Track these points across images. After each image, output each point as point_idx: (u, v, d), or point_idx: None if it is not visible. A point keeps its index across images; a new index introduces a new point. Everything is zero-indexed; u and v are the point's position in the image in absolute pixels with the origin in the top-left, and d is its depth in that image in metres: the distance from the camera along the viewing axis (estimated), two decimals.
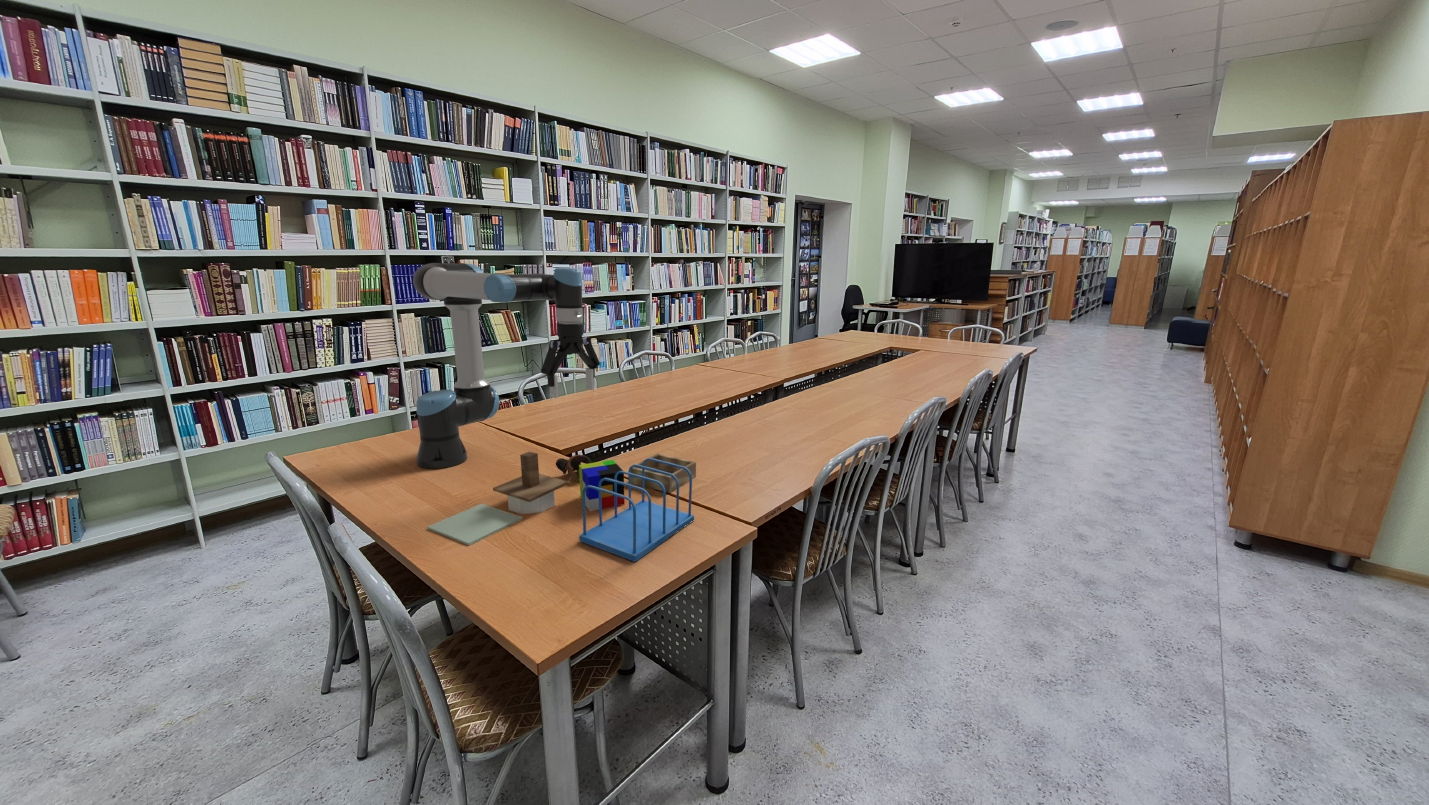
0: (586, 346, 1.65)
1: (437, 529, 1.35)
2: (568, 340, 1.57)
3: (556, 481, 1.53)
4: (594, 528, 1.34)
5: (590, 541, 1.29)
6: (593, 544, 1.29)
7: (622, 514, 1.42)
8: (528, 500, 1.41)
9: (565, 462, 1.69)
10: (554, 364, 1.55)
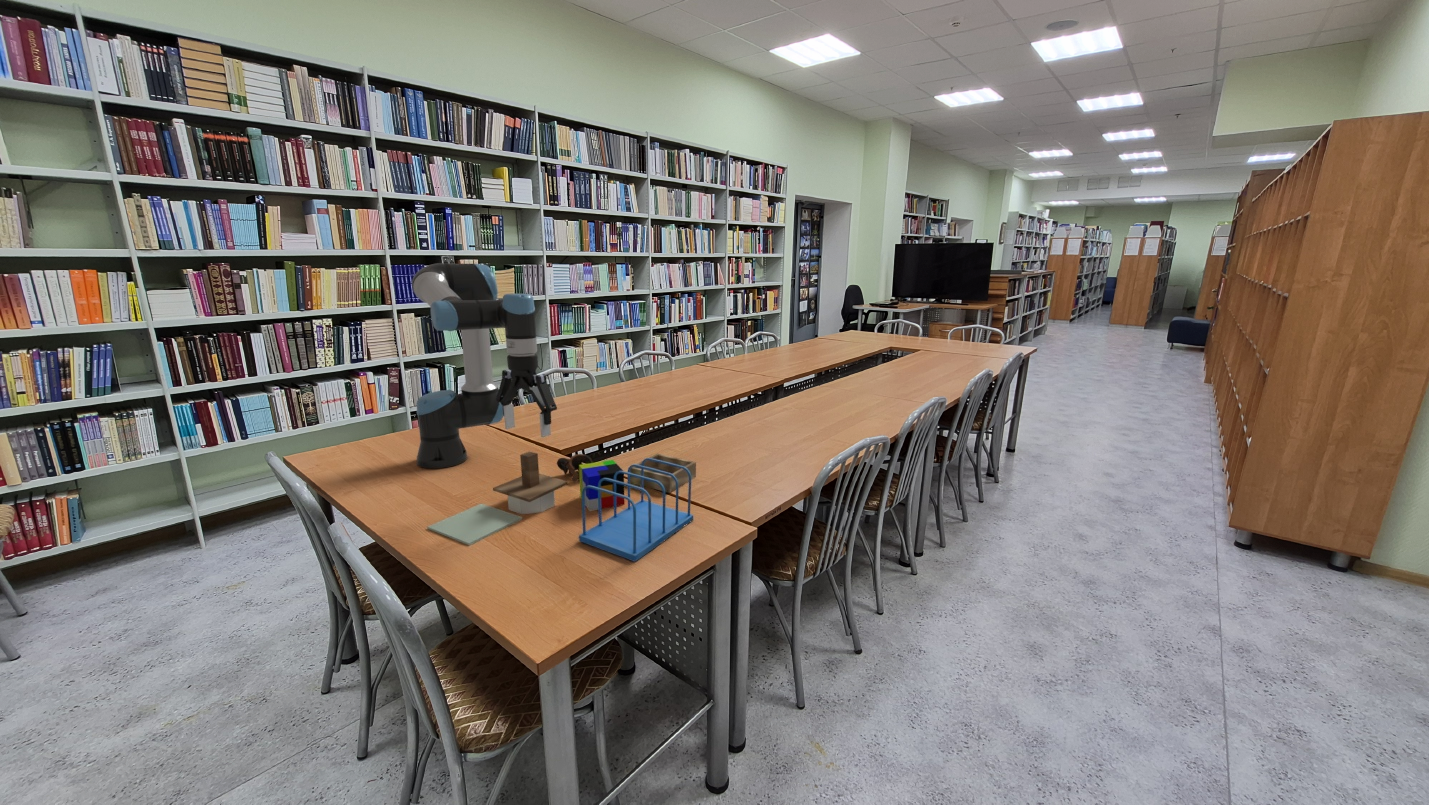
0: None
1: (437, 529, 1.35)
2: (515, 372, 1.42)
3: (556, 481, 1.53)
4: (594, 528, 1.34)
5: (590, 541, 1.29)
6: (593, 544, 1.29)
7: (621, 514, 1.42)
8: (528, 500, 1.41)
9: (566, 461, 1.69)
10: None
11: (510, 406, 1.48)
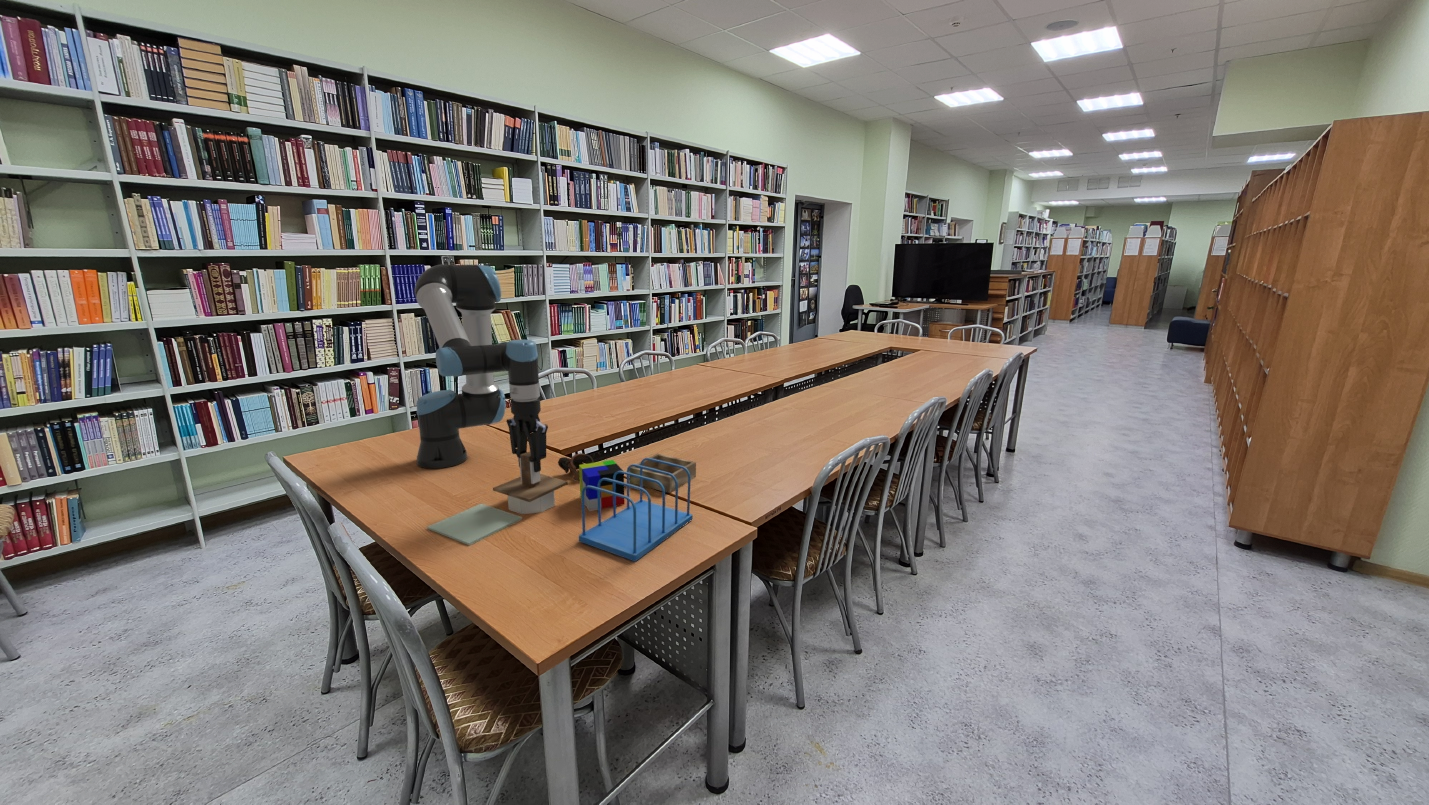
0: None
1: (437, 529, 1.35)
2: None
3: (556, 481, 1.53)
4: (593, 528, 1.34)
5: (590, 541, 1.29)
6: (593, 544, 1.29)
7: (621, 514, 1.42)
8: (528, 500, 1.41)
9: (567, 461, 1.70)
10: None
11: None
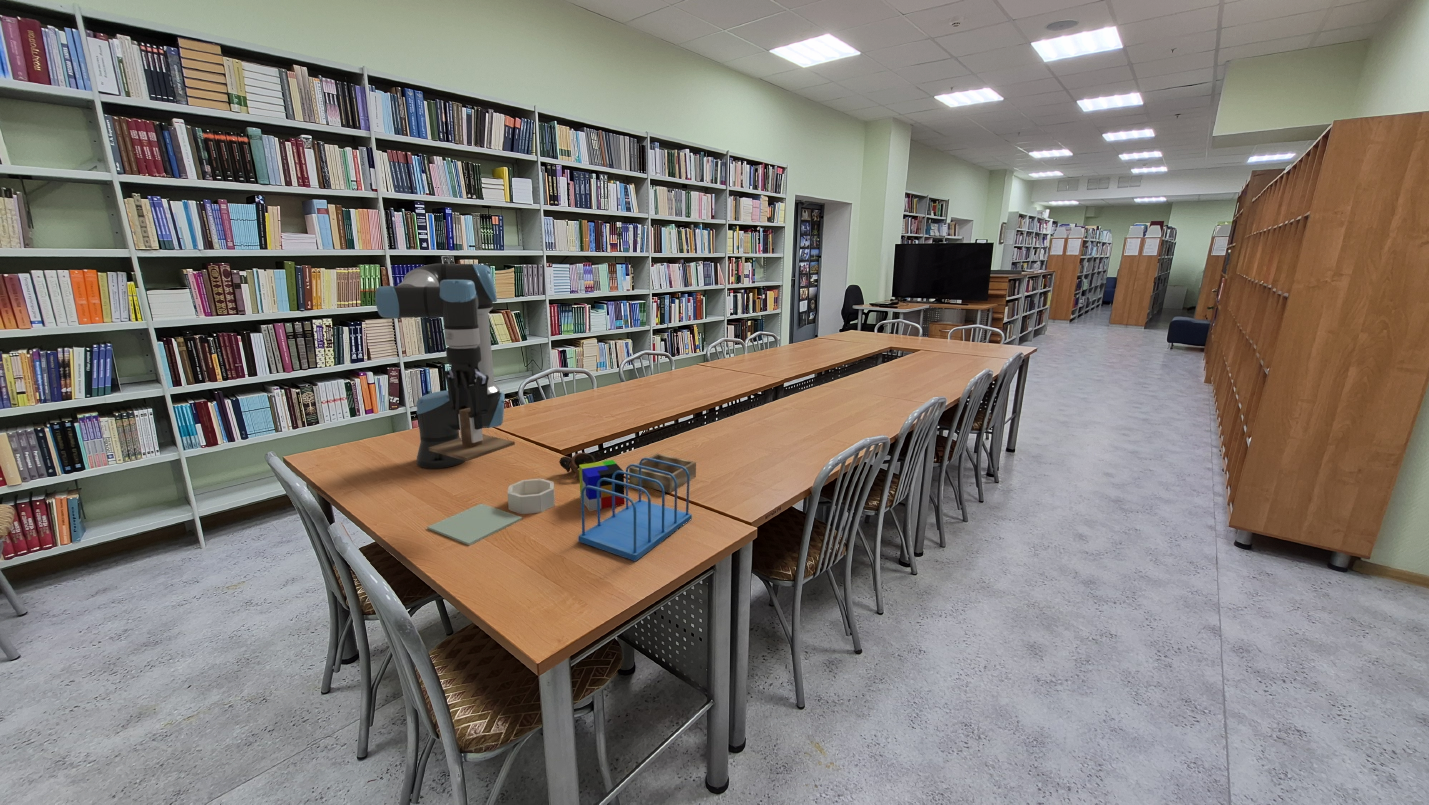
0: None
1: (437, 529, 1.35)
2: (454, 364, 1.29)
3: (502, 441, 1.37)
4: (592, 528, 1.34)
5: (589, 541, 1.29)
6: (592, 544, 1.29)
7: (620, 514, 1.42)
8: (466, 459, 1.25)
9: (569, 460, 1.70)
10: None
11: None
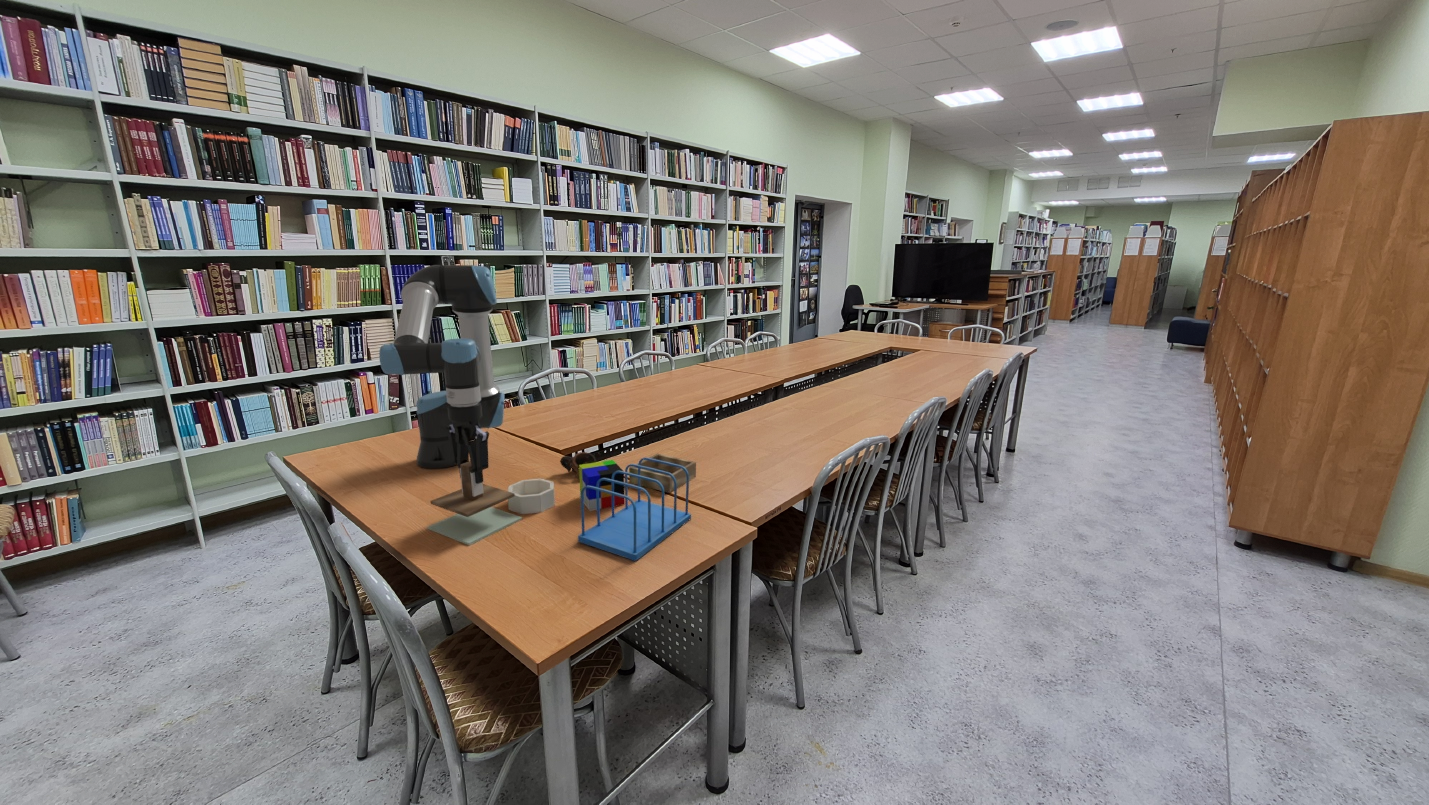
0: None
1: (437, 529, 1.35)
2: None
3: (502, 492, 1.40)
4: (592, 528, 1.34)
5: (589, 541, 1.29)
6: (592, 544, 1.29)
7: (619, 514, 1.42)
8: (466, 515, 1.28)
9: (570, 460, 1.71)
10: None
11: None
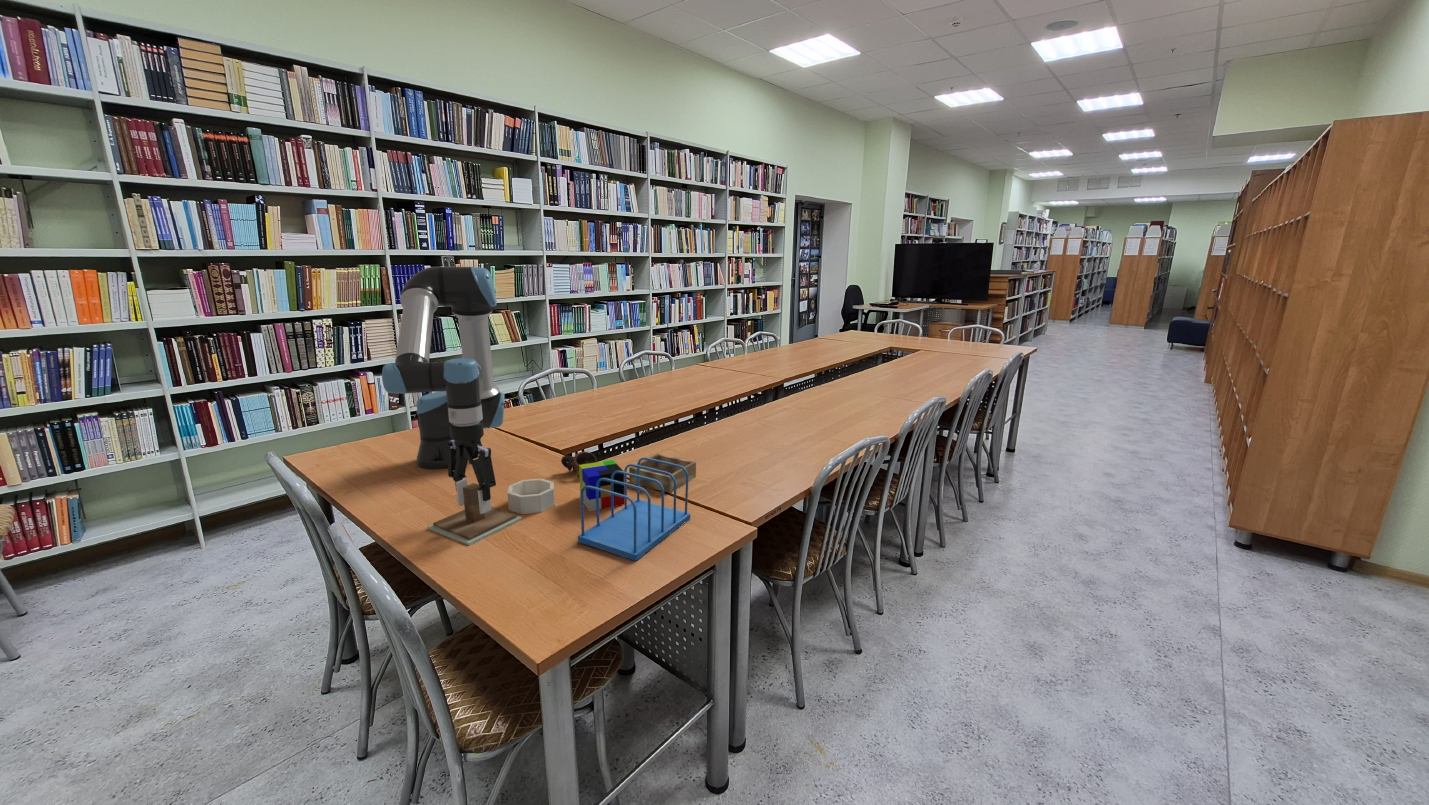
0: None
1: (437, 529, 1.35)
2: None
3: (504, 514, 1.42)
4: (592, 528, 1.34)
5: (589, 541, 1.29)
6: (592, 544, 1.29)
7: (618, 514, 1.42)
8: (468, 538, 1.30)
9: (571, 459, 1.71)
10: None
11: (463, 481, 1.38)
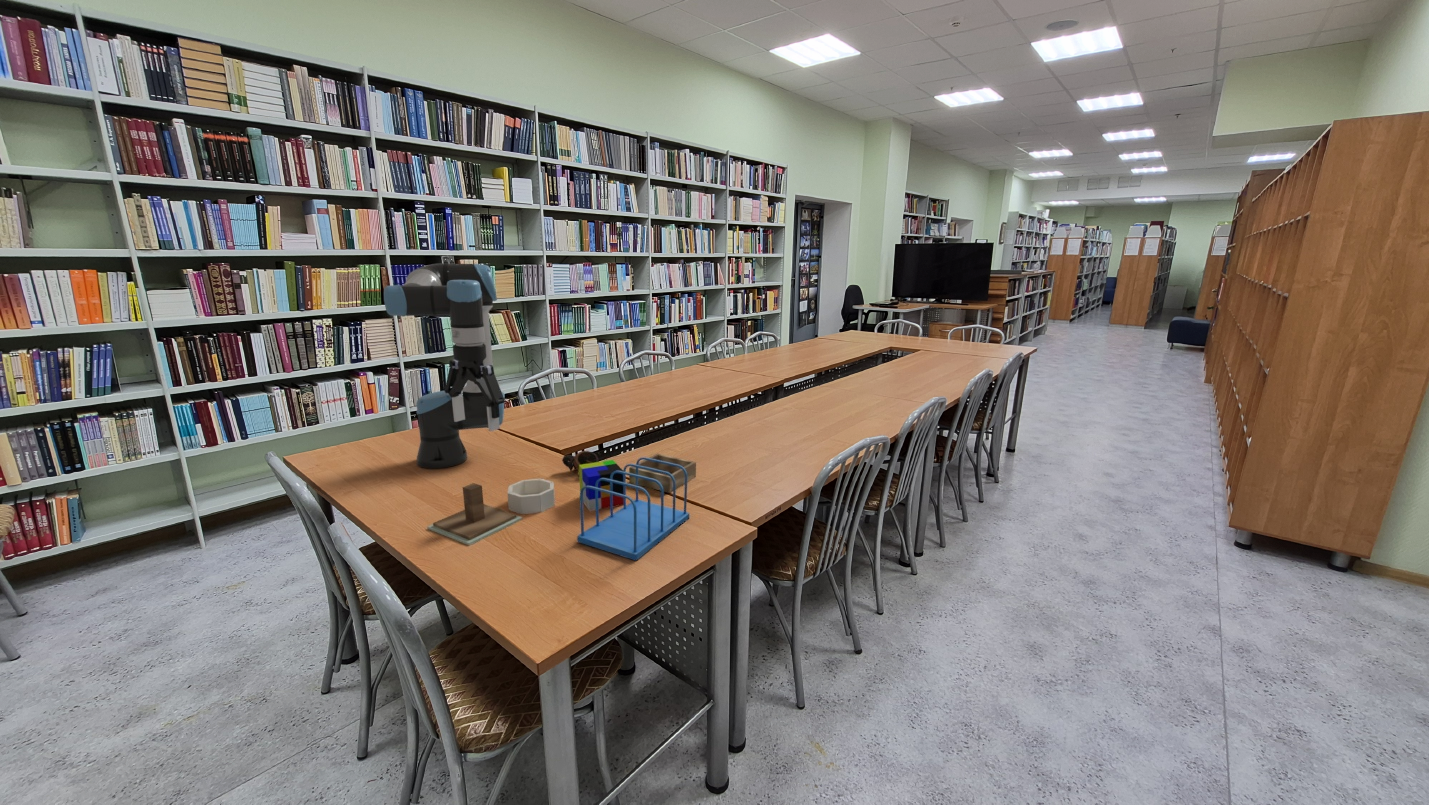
0: None
1: (437, 529, 1.35)
2: (462, 363, 1.35)
3: (504, 514, 1.42)
4: (591, 528, 1.34)
5: (589, 541, 1.29)
6: (592, 544, 1.28)
7: (618, 514, 1.42)
8: (468, 538, 1.30)
9: (572, 458, 1.72)
10: None
11: (459, 398, 1.41)
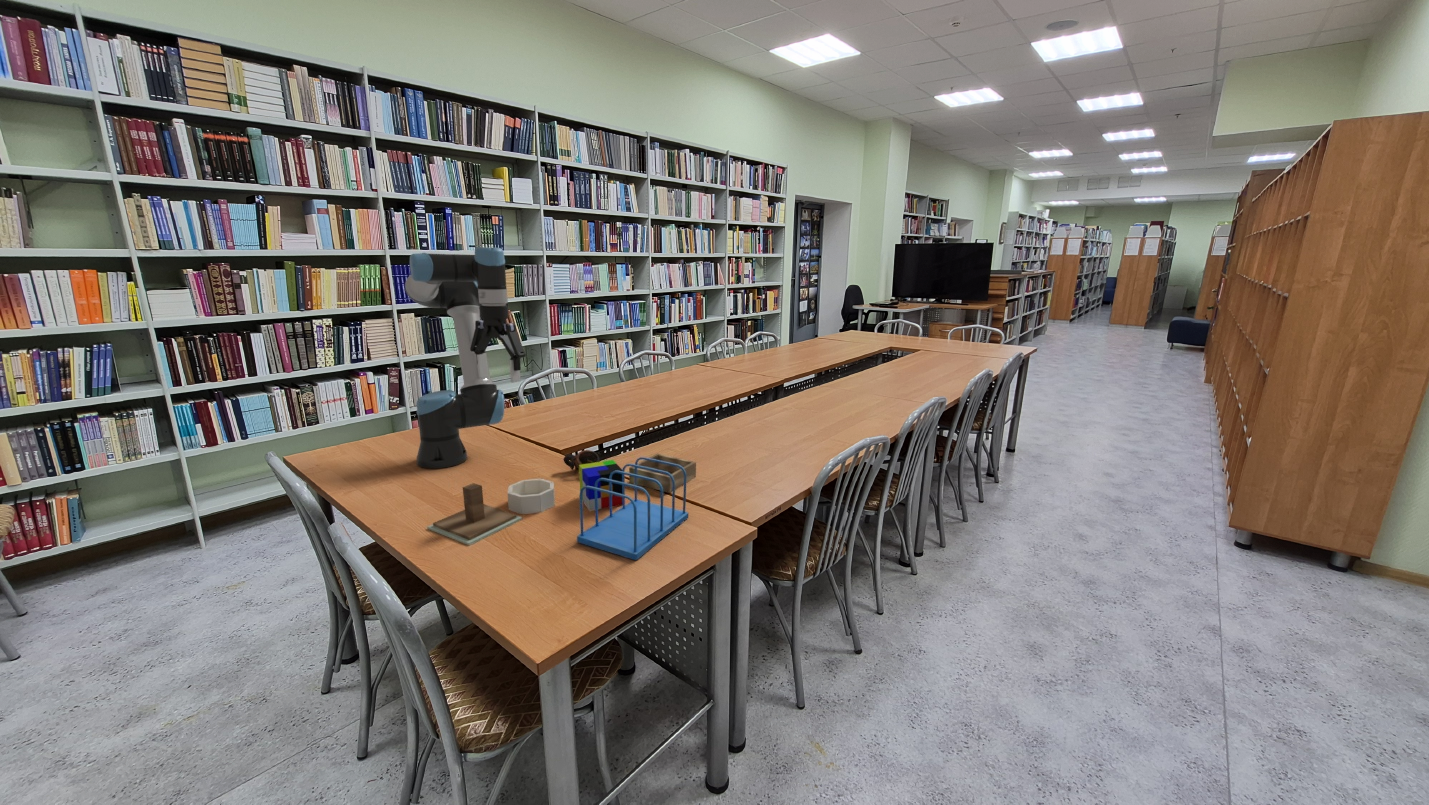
0: None
1: (437, 529, 1.35)
2: (487, 322, 1.52)
3: (504, 514, 1.42)
4: (591, 528, 1.34)
5: (589, 541, 1.29)
6: (592, 544, 1.28)
7: (617, 514, 1.42)
8: (468, 538, 1.30)
9: (573, 458, 1.73)
10: None
11: (483, 355, 1.58)
